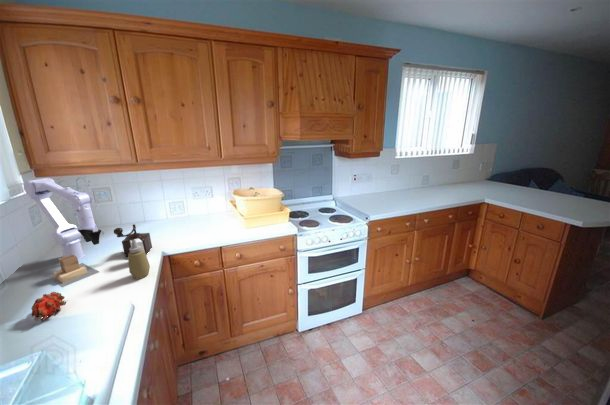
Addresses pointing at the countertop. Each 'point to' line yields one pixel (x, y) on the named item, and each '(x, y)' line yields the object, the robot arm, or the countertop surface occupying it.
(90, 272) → the slate mat
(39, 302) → the dragon fruit
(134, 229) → the coffee grinder
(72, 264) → the walnut block
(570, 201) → the countertop surface
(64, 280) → the oak base
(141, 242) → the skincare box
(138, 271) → the squeeze bottle
